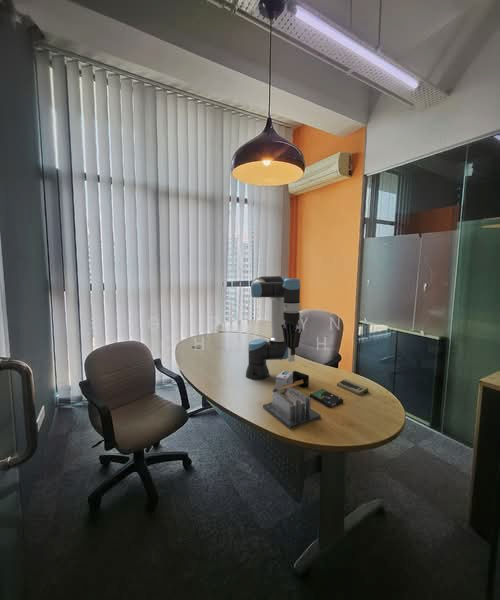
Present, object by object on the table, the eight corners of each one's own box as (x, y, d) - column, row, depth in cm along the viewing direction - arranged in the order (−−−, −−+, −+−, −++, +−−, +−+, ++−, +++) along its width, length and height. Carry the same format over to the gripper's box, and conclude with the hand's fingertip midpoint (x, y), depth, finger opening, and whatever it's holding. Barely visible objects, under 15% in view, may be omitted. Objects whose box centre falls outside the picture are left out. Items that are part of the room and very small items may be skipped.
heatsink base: (262, 407, 139) (262, 387, 138) (291, 399, 148) (291, 380, 147) (290, 429, 121) (290, 406, 119) (320, 418, 129) (321, 396, 128)
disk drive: (343, 404, 144) (322, 393, 156) (343, 399, 143) (322, 388, 156) (329, 409, 138) (308, 397, 151) (329, 404, 138) (308, 392, 151)
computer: (336, 386, 165) (336, 381, 165) (345, 383, 169) (345, 378, 169) (359, 396, 152) (359, 390, 151) (368, 393, 156) (368, 387, 156)
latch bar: (276, 391, 141) (275, 387, 141) (282, 389, 143) (281, 386, 143) (297, 385, 126) (295, 381, 126) (303, 383, 128) (302, 379, 128)
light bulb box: (282, 387, 163) (282, 370, 162) (293, 390, 160) (293, 372, 158) (275, 395, 153) (275, 376, 152) (286, 397, 150) (286, 378, 149)
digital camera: (289, 383, 169) (289, 372, 168) (294, 381, 172) (295, 370, 171) (302, 389, 161) (302, 377, 160) (308, 386, 164) (308, 375, 164)
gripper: (276, 310, 133) (276, 358, 135) (294, 314, 121) (293, 366, 124) (289, 309, 136) (289, 356, 139) (307, 312, 125) (306, 363, 128)
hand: (291, 361), depth 131 cm, fingers closed
